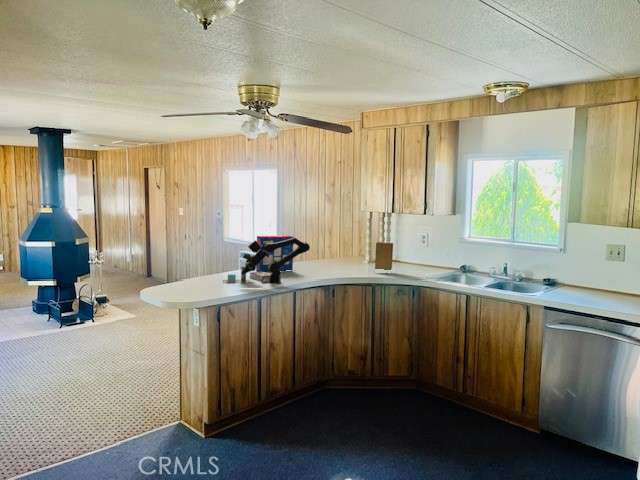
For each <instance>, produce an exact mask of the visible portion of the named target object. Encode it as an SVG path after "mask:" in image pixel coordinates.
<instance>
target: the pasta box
mask: <svg viewBox="0 0 640 480" xmlns="http://www.w3.org/2000/svg"><path fill="white" fill-rule="evenodd" d="M292 238H295V236H292V235H257V236H256V241H257V243H258V244H259V245H260V246H261V245H265V244H267V243H277V242H281V241H284V240H288V239H292ZM260 249H261V248H260ZM261 250H262V249H261ZM259 251H260V250H259ZM259 251H258V252H259ZM262 251H265V252H266V250H262ZM292 251H294V244H292V245H288V246H284V247H281V248H278V249H276V250H274V251H272V252H266V253H267V254H268V253H269V258H268V257H267V256H266V257H264V258H263V259H262V260H261V261H260V263H258V264H257V265H256V270H255V272H256V271H257V272H269V273H272V272H271V271H270V270H269V268H268V267H269V264H271V262H273V261H274V260H276V261H279V260H280V259H282V258H283V257H285V256H286V255H288V254H289V253H291V252H292ZM258 252H257V253H258ZM257 253H256V254H257ZM293 264H294V258H293V259H291V260H290V261H288V262H287V263H285V264H284V265H282V266H281V267H280V269H279V271H286V270H293V266H294V265H293Z"/></svg>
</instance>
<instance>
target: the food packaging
mask: <svg viewBox="0 0 640 480" xmlns="http://www.w3.org/2000/svg"><path fill="white" fill-rule="evenodd" d="M375 244H376V245H375V261H374V265H375V266H374V270H375V269H384V270H391V269H392V270H393V256H394V242H385V241H383V242H382V241H377V242H376V243H375Z"/></svg>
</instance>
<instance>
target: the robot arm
mask: <svg viewBox="0 0 640 480" xmlns="http://www.w3.org/2000/svg"><path fill="white" fill-rule="evenodd" d="M292 244H293V245H296V246H297V247H296V248H295V249H293V251H292V252H291V253H289V254H288V255H286V256H285V257H283V258H282V259H280V260H279V261H276V260H274V261H273V262H271V264H269V267H268V268H269V270H270V271H271V272H270V274H271V276H270V282H269V284H273V285H275V284H277V285H279V284H281V283H282V281H281V279H282V278H281V276H282V275H281V273H282V272H280V271H279V269H280V267H281V266H282V265H284V264H285V263H287V262H288V261H290V260H291V259H293V260H294V259H295V258H296V257H297V256H298V255H301V254H304V253H306V252H308V251H309V250H310V249H311V247H310V244H309V243H307V242H306V241H305V242H303V241H301V240H299V239H298V238H296V237H294V238H292V239H288V240H284V241H281V242H277V243H267V244H265V245H261V246H260V245H259V244H258V243H257V239H256V240H254V241H253V242H251V243H250V244H249V245H248V246H247V248H249V249H250V251H252V253H254V254H253V255H251V254H250V253H246V252H244V254H243V255H242V258H243V259H244V260H245V265H244V267H246V268H245V269H244V270H243V272H242V273H241V272H240V275H241V274H245V273H246V274H247V273H251V272H256V265H257V264H258V263H260V261H261V260H262V259H263V258H264V257H266V256H267V257H268V258H269V253H268V254H267V253H266V252H272V251H274V250H276V249H278V248H281V247H284V246H288V245H292ZM260 248H261V249H262V250H266V252H265V251H262V250H261V249H260ZM259 250H260V251H259ZM258 251H259V252H258ZM257 252H258V253H257ZM255 253H256V254H255Z"/></svg>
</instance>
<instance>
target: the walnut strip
mask: <svg viewBox="0 0 640 480" xmlns="http://www.w3.org/2000/svg"><path fill="white" fill-rule="evenodd" d="M245 268H246V267H245V265H244V266H241V270H240V277H241V278H240V279H236V281H235V282H228V279H222V284H252V280H251V279H247V273H245V274H241V273H242V272H243V270H244V269H245Z"/></svg>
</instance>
